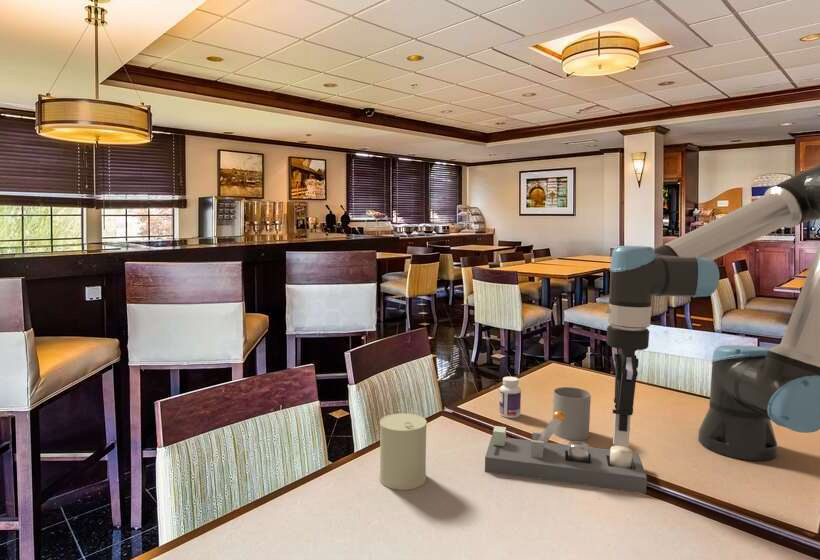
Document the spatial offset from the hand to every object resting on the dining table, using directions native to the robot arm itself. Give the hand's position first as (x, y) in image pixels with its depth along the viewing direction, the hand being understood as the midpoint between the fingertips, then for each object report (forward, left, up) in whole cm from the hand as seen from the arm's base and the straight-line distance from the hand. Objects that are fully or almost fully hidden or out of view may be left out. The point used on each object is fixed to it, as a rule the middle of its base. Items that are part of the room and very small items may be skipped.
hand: (620, 444), depth 104 cm
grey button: (+8, 0, -5) cm, 9 cm away
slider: (+24, -2, -4) cm, 24 cm away
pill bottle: (+24, -28, -7) cm, 37 cm away
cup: (+9, -20, -7) cm, 23 cm away
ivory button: (0, 0, -5) cm, 5 cm away
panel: (+11, 0, -7) cm, 13 cm away
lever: (+16, 0, -3) cm, 16 cm away
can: (+41, +13, -7) cm, 43 cm away
